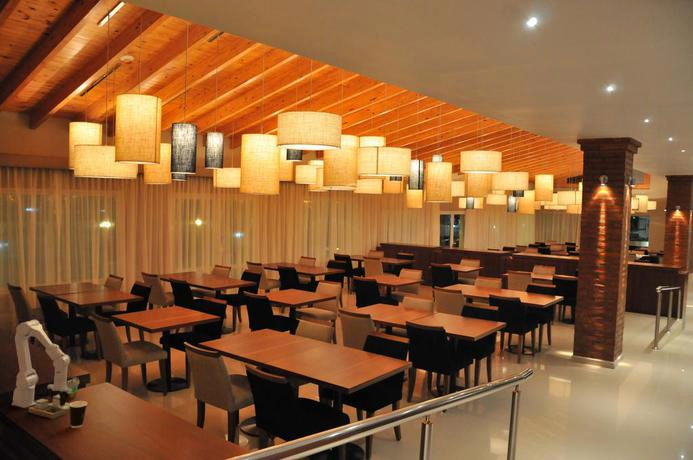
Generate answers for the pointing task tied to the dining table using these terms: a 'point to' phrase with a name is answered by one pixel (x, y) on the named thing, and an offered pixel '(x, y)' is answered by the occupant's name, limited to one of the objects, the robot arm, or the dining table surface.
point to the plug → (56, 401)
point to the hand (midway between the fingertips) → (58, 404)
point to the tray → (64, 406)
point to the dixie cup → (77, 413)
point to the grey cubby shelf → (48, 411)
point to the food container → (72, 387)
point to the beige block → (41, 404)
